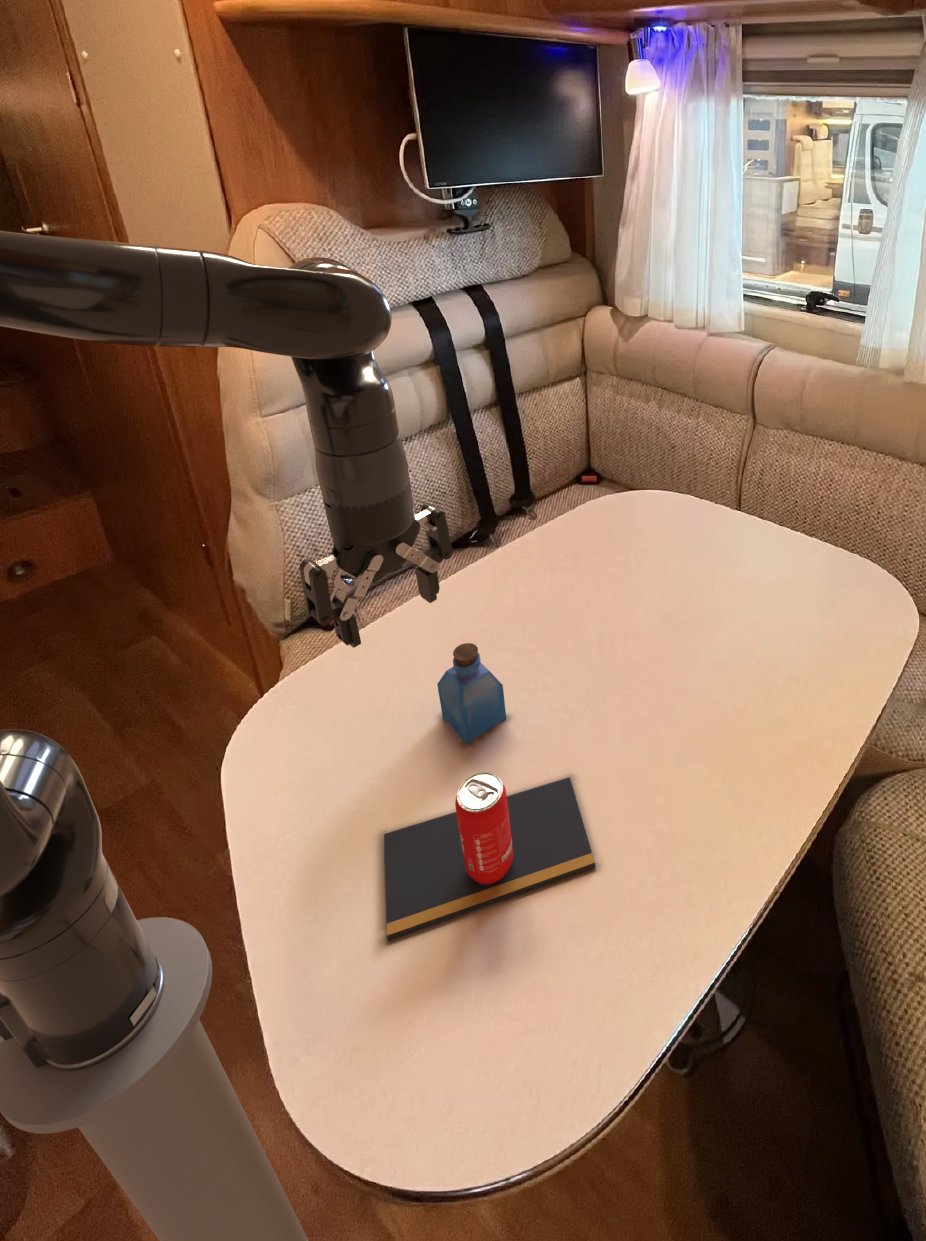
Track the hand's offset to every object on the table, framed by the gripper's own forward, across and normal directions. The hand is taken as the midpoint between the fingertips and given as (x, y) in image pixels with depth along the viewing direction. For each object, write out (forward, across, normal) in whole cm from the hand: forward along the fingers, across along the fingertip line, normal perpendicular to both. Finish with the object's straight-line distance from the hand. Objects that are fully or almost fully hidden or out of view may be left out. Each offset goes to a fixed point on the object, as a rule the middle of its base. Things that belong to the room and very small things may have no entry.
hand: (391, 619), depth 73 cm
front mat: (+30, -2, +9) cm, 31 cm away
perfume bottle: (+30, -13, -8) cm, 34 cm away
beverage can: (+30, -1, +11) cm, 32 cm away
